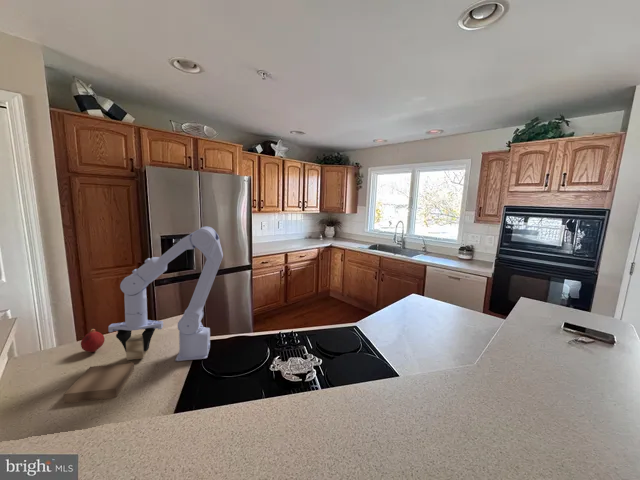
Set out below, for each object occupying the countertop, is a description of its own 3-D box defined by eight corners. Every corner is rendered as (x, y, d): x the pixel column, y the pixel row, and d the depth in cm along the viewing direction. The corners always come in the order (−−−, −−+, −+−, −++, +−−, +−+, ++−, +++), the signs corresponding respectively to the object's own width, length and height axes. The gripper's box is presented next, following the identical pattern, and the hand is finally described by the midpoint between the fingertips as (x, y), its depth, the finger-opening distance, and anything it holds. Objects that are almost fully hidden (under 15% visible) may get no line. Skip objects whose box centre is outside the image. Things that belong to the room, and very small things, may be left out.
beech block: (148, 350, 85) (147, 333, 85) (142, 358, 81) (142, 340, 80) (132, 351, 84) (132, 334, 83) (126, 359, 80) (125, 342, 79)
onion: (91, 358, 81) (89, 335, 80) (76, 355, 82) (75, 332, 81) (109, 348, 87) (108, 326, 86) (95, 345, 88) (94, 324, 87)
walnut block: (134, 371, 77) (134, 362, 77) (116, 398, 67) (115, 388, 66) (90, 376, 74) (90, 366, 74) (64, 404, 64) (63, 394, 63)
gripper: (165, 304, 86) (166, 341, 88) (115, 306, 83) (117, 345, 84) (158, 313, 80) (159, 353, 82) (103, 316, 76) (106, 358, 78)
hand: (137, 350), depth 83 cm, fingers closed on beech block, 4 cm apart
